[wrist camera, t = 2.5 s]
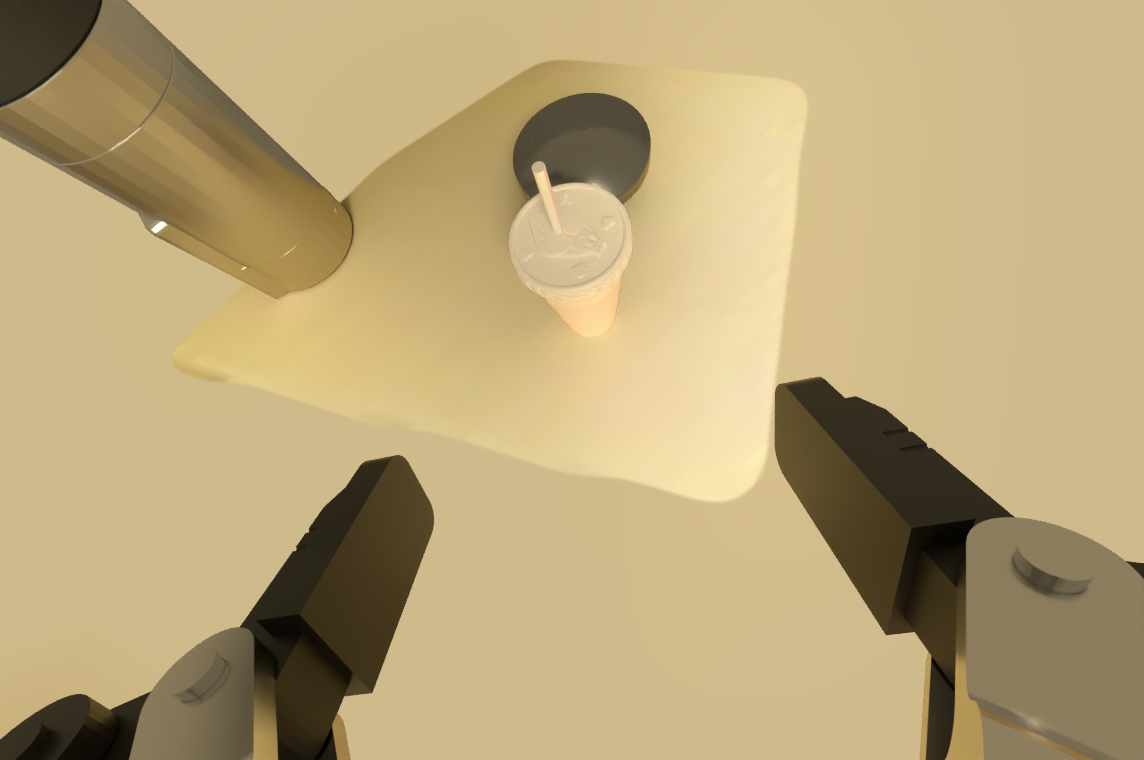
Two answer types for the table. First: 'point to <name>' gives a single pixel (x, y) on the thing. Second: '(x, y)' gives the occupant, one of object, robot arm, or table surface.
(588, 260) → the smoothie
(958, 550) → the robot arm
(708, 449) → the table surface
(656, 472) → the table surface
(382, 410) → the table surface
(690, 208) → the table surface
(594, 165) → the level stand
